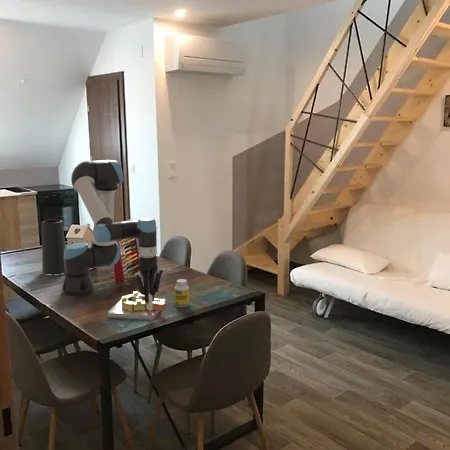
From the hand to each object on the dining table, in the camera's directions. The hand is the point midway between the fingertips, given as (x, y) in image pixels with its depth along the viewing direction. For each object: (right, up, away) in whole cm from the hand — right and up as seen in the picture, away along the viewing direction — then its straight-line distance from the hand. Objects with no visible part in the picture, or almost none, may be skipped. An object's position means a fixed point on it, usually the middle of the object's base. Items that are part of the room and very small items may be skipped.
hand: (149, 309), depth 218 cm
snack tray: (-3, 0, +6) cm, 7 cm away
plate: (-7, -2, +9) cm, 11 cm away
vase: (-62, +9, +66) cm, 91 cm away
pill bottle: (+13, -1, +15) cm, 19 cm away
